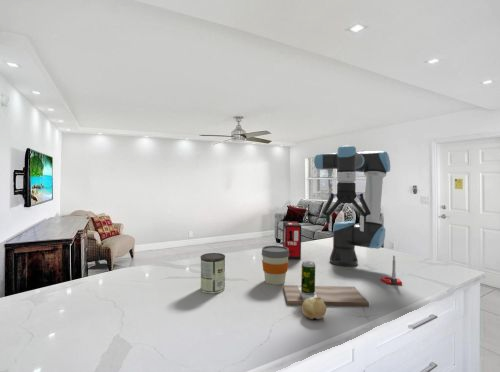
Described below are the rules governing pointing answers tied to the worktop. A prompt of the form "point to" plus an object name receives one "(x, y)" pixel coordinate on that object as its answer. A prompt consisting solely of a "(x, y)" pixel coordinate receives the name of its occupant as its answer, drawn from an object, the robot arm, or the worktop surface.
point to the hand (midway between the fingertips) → (345, 230)
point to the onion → (314, 307)
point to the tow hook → (393, 278)
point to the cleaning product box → (292, 239)
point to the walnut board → (326, 295)
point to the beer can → (308, 278)
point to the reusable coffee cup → (275, 264)
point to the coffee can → (212, 273)
